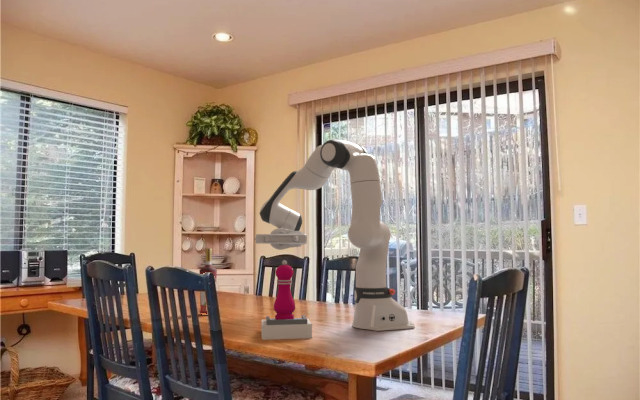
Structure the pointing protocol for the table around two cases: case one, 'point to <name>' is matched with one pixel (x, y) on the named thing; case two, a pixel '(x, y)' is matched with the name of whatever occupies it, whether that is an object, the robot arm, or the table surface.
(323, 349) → the table surface
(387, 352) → the table surface
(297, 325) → the dock
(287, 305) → the pepper mill
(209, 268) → the liquor
